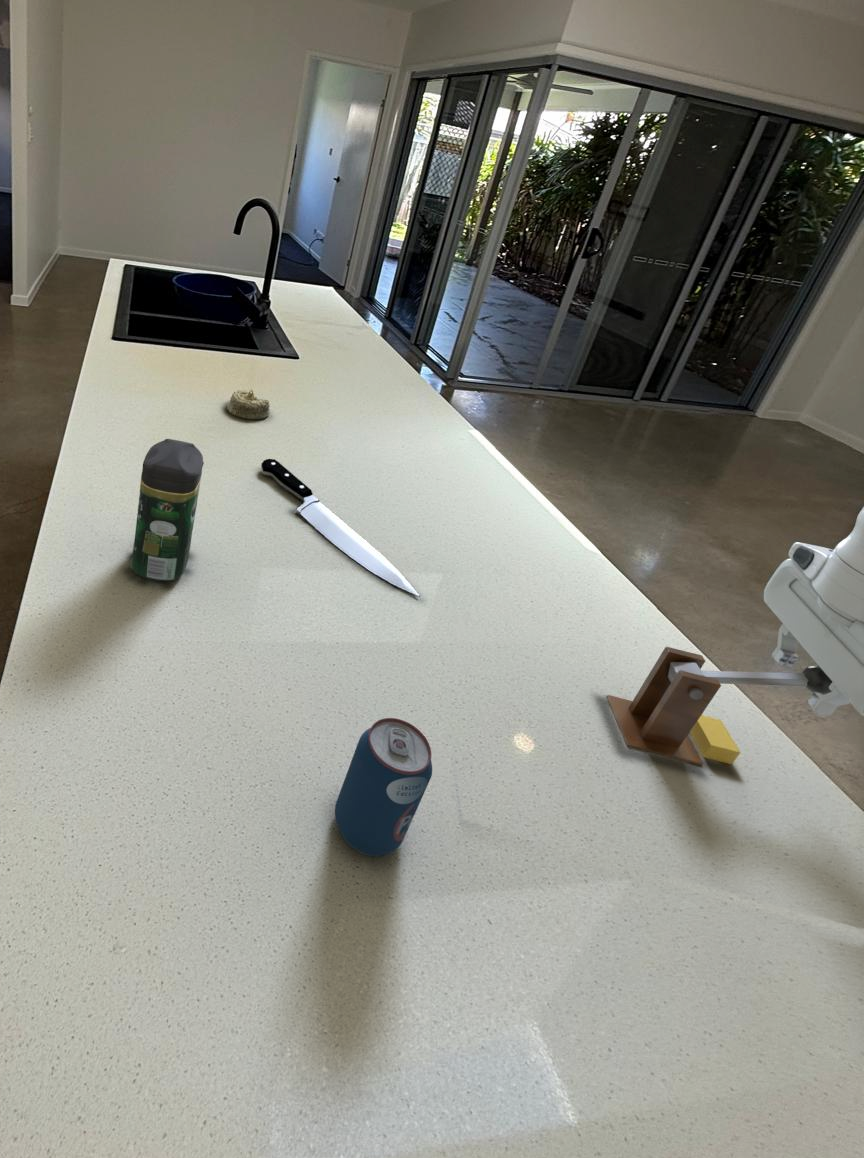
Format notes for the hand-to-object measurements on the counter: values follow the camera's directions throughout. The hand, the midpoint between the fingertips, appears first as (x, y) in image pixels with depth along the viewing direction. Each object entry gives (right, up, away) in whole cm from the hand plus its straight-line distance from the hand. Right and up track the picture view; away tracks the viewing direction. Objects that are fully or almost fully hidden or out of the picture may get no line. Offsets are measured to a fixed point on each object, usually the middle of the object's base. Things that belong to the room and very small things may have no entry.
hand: (798, 685), depth 76 cm
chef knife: (-51, +14, +37) cm, 64 cm away
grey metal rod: (-5, -1, +1) cm, 5 cm away
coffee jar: (-77, +11, +18) cm, 80 cm away
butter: (-7, -10, +6) cm, 14 cm away
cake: (-66, +36, +74) cm, 105 cm away
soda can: (-52, -10, -12) cm, 55 cm away
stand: (-14, -8, +6) cm, 17 cm away
